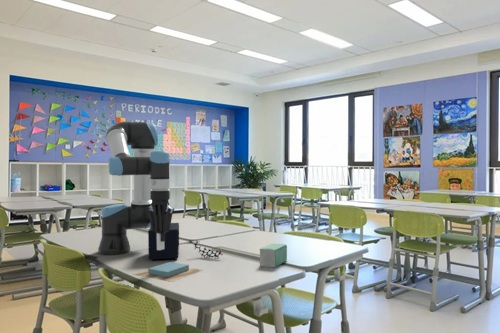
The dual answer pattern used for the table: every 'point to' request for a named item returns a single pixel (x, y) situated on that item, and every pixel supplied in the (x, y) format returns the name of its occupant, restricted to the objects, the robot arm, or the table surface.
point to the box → (273, 255)
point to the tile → (168, 269)
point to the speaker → (169, 244)
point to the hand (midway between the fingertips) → (160, 249)
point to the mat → (171, 278)
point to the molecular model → (208, 251)
